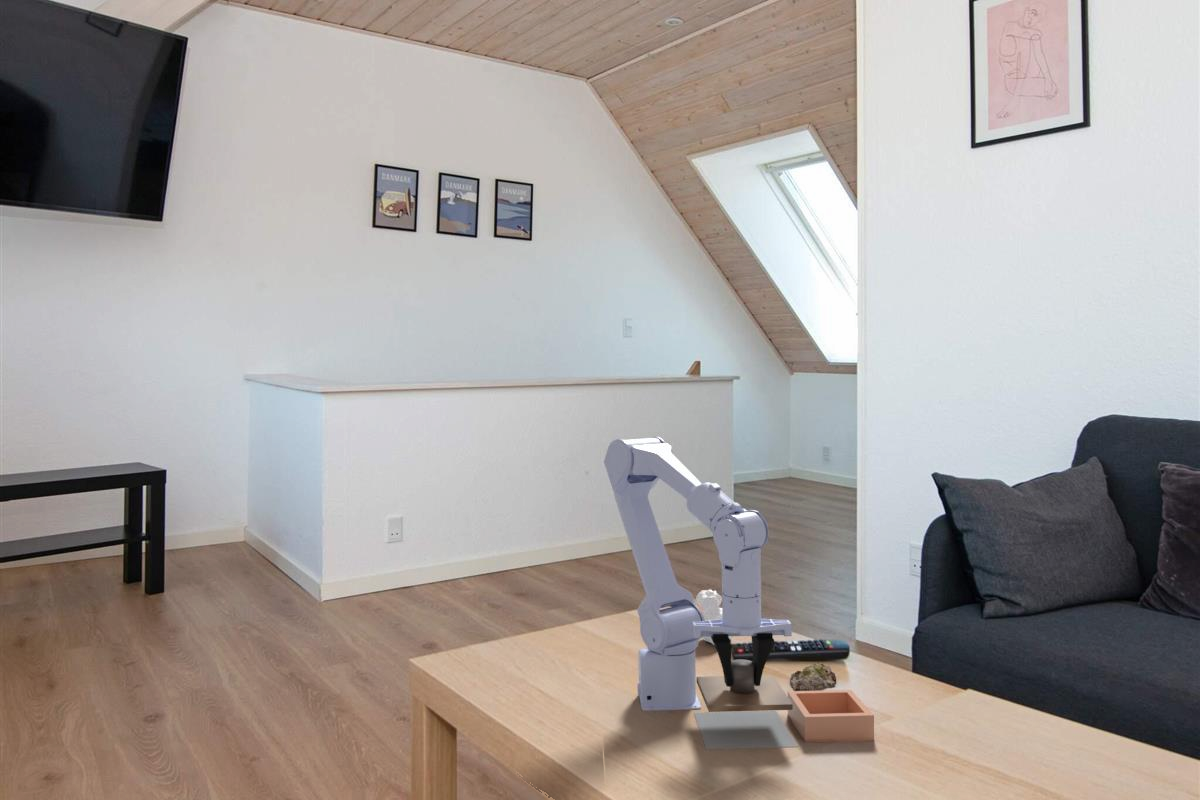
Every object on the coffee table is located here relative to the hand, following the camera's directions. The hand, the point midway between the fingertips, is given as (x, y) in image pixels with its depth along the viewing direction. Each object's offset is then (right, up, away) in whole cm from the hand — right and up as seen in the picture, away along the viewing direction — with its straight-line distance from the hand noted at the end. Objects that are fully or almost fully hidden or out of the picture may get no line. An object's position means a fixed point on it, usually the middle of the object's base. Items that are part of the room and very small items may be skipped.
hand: (742, 683), depth 125 cm
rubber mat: (0, -7, 0) cm, 7 cm away
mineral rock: (+15, -7, +19) cm, 25 cm away
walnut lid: (0, -2, 0) cm, 2 cm away
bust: (+2, -7, +44) cm, 45 cm away
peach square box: (+13, -7, 0) cm, 15 cm away
